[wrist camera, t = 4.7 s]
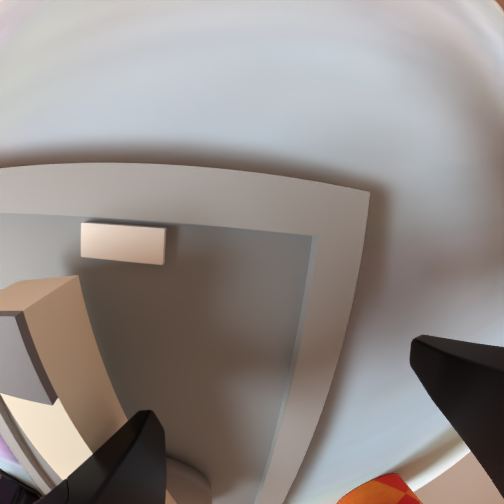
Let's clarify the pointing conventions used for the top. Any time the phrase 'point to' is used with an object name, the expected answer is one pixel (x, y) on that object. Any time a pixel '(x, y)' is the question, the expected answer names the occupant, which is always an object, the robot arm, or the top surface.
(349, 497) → the coffee cup
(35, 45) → the top surface
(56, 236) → the board
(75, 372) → the long cream stick
